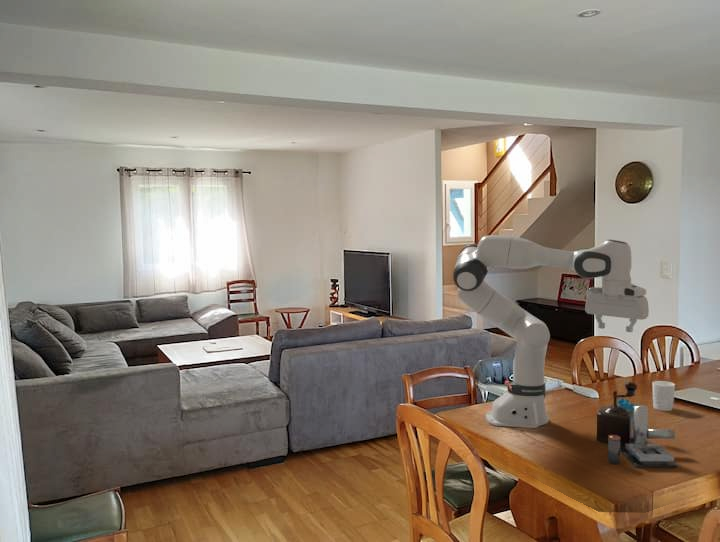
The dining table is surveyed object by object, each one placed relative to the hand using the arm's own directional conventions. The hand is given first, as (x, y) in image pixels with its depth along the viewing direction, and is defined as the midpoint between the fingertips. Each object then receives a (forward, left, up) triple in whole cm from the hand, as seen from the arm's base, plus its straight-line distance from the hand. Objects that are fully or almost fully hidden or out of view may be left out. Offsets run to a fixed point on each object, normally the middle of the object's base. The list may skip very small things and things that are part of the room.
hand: (615, 330), depth 199 cm
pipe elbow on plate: (+6, -16, -37) cm, 41 cm away
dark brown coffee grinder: (+2, +2, -37) cm, 37 cm away
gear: (+13, +19, -37) cm, 44 cm away
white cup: (+31, +33, -37) cm, 58 cm away
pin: (-7, -20, -37) cm, 43 cm away
